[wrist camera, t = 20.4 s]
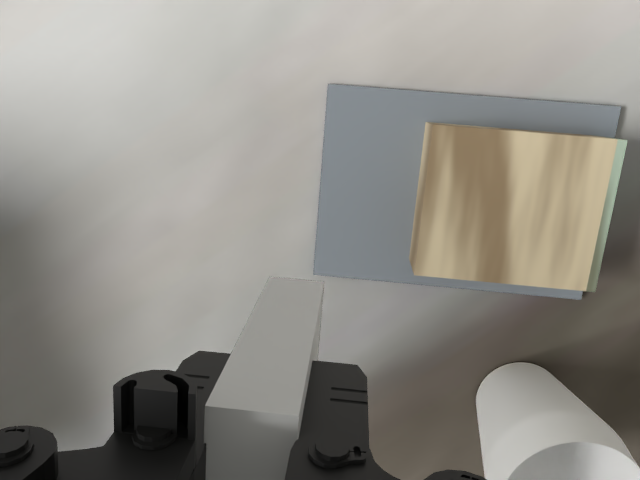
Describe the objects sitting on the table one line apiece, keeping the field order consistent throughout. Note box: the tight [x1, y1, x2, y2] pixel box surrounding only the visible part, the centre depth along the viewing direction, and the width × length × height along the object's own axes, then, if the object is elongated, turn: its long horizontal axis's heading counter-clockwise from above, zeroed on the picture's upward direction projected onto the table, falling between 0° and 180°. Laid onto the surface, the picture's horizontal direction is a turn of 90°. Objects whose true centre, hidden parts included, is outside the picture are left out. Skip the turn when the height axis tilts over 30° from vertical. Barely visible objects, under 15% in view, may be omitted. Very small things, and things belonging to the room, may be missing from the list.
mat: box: [313, 84, 621, 300], centre depth 40 cm, size 20×14×1 cm
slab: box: [409, 122, 628, 292], centre depth 38 cm, size 4×10×12 cm
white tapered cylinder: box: [476, 362, 640, 480], centre depth 38 cm, size 9×9×12 cm
